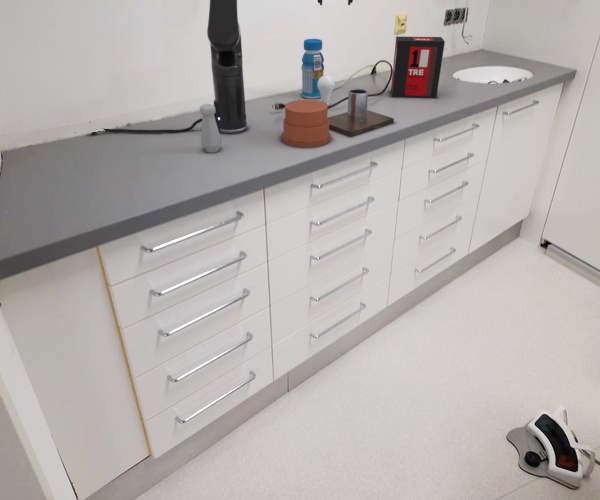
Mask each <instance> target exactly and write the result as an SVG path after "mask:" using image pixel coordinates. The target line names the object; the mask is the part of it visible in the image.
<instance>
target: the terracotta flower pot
mask: <svg viewBox="0 0 600 500" xmlns="http://www.w3.org/2000/svg"><path fill="white" fill-rule="evenodd" d="M328 109H329V106H328V105H327V104H326V103H324V102H322V100H317V99H296V100H292V101H289V102H287V103H286V104H285V105H284V118H283V121H282V124H283V132H282V134H281V140H282V142H283V143H284V144H286V145H288V146H291V147H296V148H316V147H317V148H318V147H321V146H324V145H326V144H328V143H329V142H330V141H331V136H332V135H331V132H330V129H329V119H328V113H329V111H328Z"/></svg>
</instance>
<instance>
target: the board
mask: <svg viewBox="0 0 600 500" xmlns="http://www.w3.org/2000/svg"><path fill="white" fill-rule="evenodd" d="M347 116H348V111H346V112H341V113H339V114H335V115H332V116H327V118H328V119H329V130H330V131H335V132H337V133H340V134H342V135H345V136H348V137H354V136H358V135H361V134H364V133H366V132H370V131H373V130H377V129H379V128H383V127H385V126H388V125H391V124H394V122H395V117H391V116H388V115H385V114H381V113H379V112H375V111H372V110H368V109H367V113H366V120H365V121H363V122H351V121H349V120H348V119H347V118H348V117H347Z"/></svg>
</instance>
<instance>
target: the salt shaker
mask: <svg viewBox="0 0 600 500" xmlns="http://www.w3.org/2000/svg"><path fill="white" fill-rule="evenodd" d="M215 112H216V110H215V106H214V104H212V103H204V104H201V105H200V106H199V113H200V115H202V117H201V118H202V122H201V138H200V144H201V146H202V147H203V149H204V150H205V152H206V153H211V154H212V153H216V152H219V150H220V148H221V145H222V138H221V134H220V132H219V130H218V127H217V124H216V120H215V117H214V114H215Z"/></svg>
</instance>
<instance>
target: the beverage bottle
mask: <svg viewBox="0 0 600 500" xmlns="http://www.w3.org/2000/svg"><path fill="white" fill-rule="evenodd" d="M303 50H304V53H303V55H302V56H301V62H302V64H301V83H302V84H301V89H302V90H301V96H302V97H303V98H306V99H321V93H320V91H319V89H318V86H317V84H318V80H319V79H320V78H321V77H322V76H324V71H325V65H324V61H325V59H324V55H323V53H322V52H321V51H322V50H323V40H322V39H320V38H306V39H304V40H303Z"/></svg>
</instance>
